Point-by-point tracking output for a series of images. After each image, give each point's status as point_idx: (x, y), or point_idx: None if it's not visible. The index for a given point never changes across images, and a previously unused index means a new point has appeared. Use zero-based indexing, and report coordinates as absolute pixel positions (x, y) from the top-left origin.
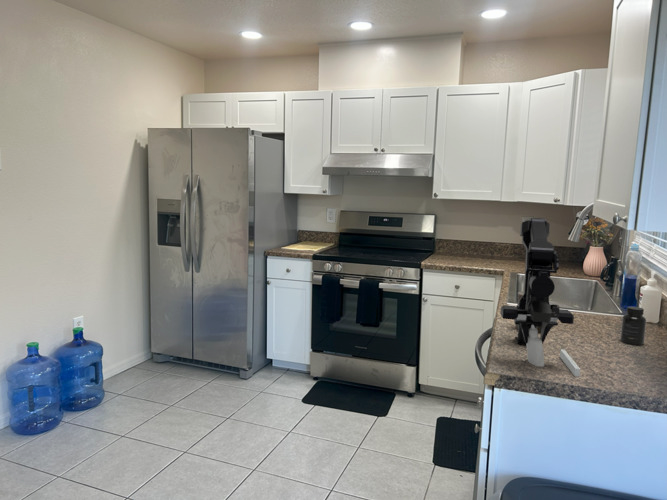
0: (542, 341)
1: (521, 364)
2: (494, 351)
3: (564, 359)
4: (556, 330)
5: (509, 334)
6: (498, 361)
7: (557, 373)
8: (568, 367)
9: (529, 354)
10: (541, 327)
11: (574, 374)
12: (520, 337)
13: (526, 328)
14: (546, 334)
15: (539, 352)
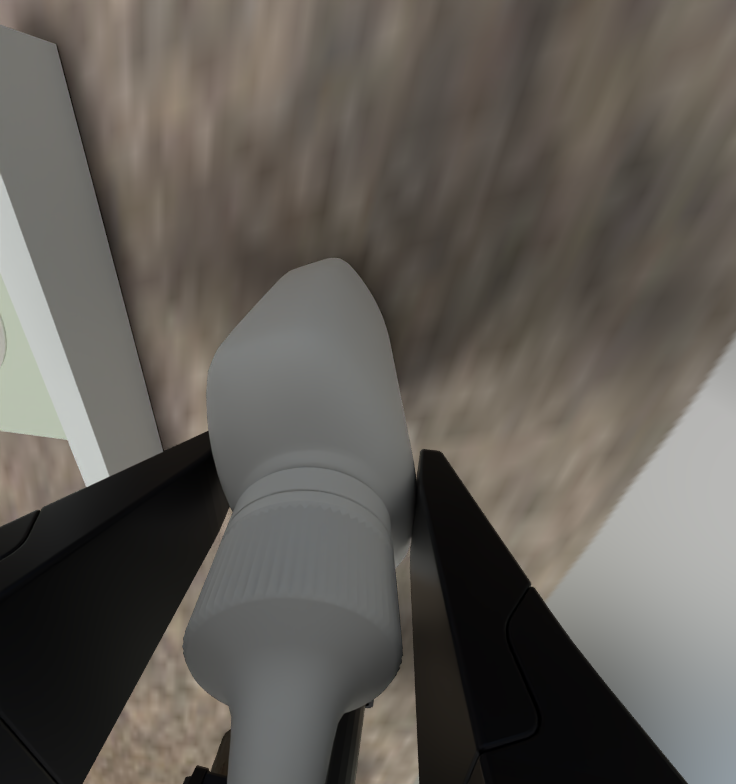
0: (202, 444)
1: (453, 349)
2: (564, 564)
3: (117, 405)
4: (176, 748)
5: (378, 736)
6: (637, 387)
7: (194, 185)
8: (96, 279)
9: (394, 365)
10: (223, 768)
11: (20, 45)
12: None
13: (494, 698)
14: (51, 510)
15: (294, 294)
